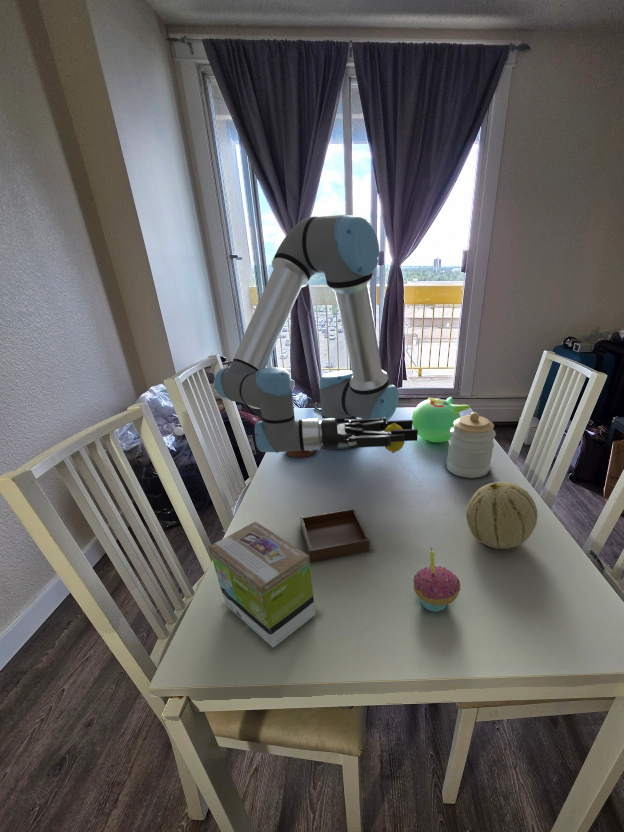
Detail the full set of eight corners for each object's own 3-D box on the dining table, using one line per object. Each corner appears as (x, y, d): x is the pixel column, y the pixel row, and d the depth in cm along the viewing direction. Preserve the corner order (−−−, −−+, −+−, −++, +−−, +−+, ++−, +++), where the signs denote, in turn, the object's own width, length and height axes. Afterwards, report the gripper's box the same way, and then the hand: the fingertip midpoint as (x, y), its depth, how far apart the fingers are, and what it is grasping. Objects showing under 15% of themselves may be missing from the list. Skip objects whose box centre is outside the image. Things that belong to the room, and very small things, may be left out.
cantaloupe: (541, 559, 87) (558, 500, 79) (476, 566, 86) (486, 506, 78) (512, 520, 100) (524, 465, 92) (454, 525, 98) (461, 470, 90)
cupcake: (402, 601, 77) (405, 552, 71) (431, 580, 82) (435, 532, 76) (439, 627, 72) (445, 577, 65) (466, 602, 77) (475, 553, 70)
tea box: (223, 606, 76) (205, 544, 68) (267, 578, 82) (256, 518, 75) (273, 651, 68) (259, 585, 60) (317, 615, 74) (310, 552, 66)
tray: (301, 527, 97) (300, 517, 96) (354, 518, 101) (354, 508, 99) (310, 562, 87) (309, 551, 85) (369, 550, 90) (369, 539, 88)
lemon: (402, 458, 102) (403, 428, 97) (380, 456, 103) (381, 426, 98) (405, 449, 106) (406, 420, 102) (384, 447, 107) (385, 418, 103)
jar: (498, 473, 120) (509, 416, 111) (462, 482, 116) (470, 424, 106) (471, 455, 130) (479, 402, 121) (437, 463, 126) (442, 408, 116)
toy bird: (404, 432, 147) (406, 391, 139) (447, 427, 151) (451, 388, 143) (422, 452, 132) (425, 409, 125) (469, 446, 136) (475, 404, 128)
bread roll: (305, 453, 140) (295, 431, 138) (325, 447, 134) (315, 424, 132) (285, 464, 133) (275, 442, 131) (306, 459, 127) (295, 435, 124)
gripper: (321, 434, 109) (406, 430, 112) (323, 465, 93) (421, 459, 96) (319, 406, 105) (408, 403, 108) (320, 434, 90) (423, 429, 92)
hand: (414, 429), depth 102 cm, fingers closed on lemon, 5 cm apart
